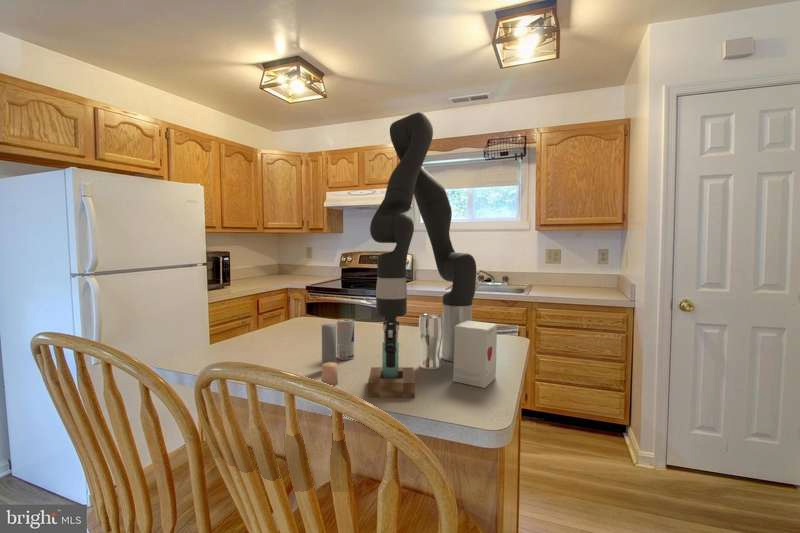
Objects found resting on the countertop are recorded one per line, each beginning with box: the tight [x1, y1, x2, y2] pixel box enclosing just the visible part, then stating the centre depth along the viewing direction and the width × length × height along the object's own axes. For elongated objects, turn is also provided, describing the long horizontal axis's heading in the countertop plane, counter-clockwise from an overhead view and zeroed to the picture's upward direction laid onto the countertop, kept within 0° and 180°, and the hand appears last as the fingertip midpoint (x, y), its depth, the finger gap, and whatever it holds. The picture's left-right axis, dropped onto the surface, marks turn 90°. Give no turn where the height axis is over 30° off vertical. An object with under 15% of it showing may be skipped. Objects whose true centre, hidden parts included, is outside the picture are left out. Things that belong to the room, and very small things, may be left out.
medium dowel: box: [381, 341, 400, 379], centre depth 94 cm, size 4×4×9 cm
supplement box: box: [452, 320, 498, 389], centre depth 100 cm, size 9×9×15 cm
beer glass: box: [418, 313, 443, 371], centre depth 111 cm, size 7×7×15 cm
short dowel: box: [321, 362, 339, 387], centre depth 97 cm, size 4×4×5 cm
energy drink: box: [336, 318, 355, 361], centre depth 119 cm, size 5×5×12 cm
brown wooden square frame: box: [367, 366, 416, 398], centre depth 95 cm, size 11×11×4 cm
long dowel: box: [321, 323, 337, 365], centre depth 107 cm, size 4×4×13 cm
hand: (390, 363), depth 94 cm, fingers closed on medium dowel, 4 cm apart
